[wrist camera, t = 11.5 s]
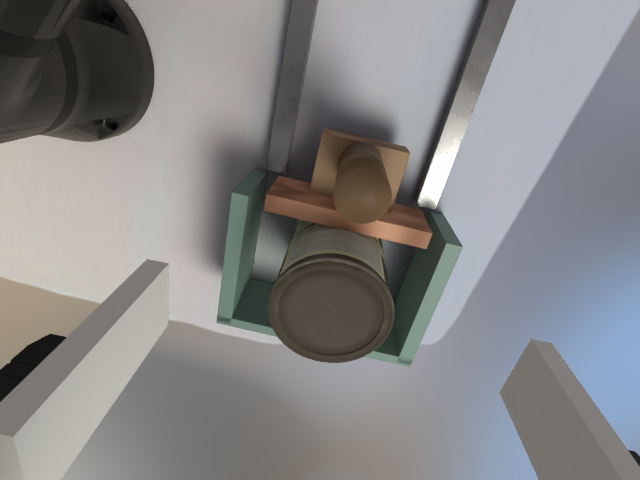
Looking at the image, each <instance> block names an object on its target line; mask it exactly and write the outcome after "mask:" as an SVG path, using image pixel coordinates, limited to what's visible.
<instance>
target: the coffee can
mask: <svg viewBox="0 0 640 480" xmlns="http://www.w3.org/2000/svg"><path fill="white" fill-rule="evenodd" d="M394 315H395V309H394V302H393V298H392V295H391V292H390V288H389V282H388V276H387V270H386V265H385V259H384V253H383V246H382V239H381V238H377V237H373V236H368V235H364V234H360V233H356V232H351V231H347V230H343V229H339V228H334V227H330V226H326V225H322V224H317V223H313V222H309V221H305V220H300V219H298V221H297V223H296V225H295V228H294V231H293V236H292V238H291V241H290V244H289V247H288V249H287V252H286V255H285V258H284V260H283V263H282V266H281V269H280V272H279V275H278V277H277V280H276V281H275V283H274V285H273V287H272V289H271V292H270V295H269V299H268V318H269V321H270V324H271V327H272V329H273V331H274V332H275V334H276V335H277V337H278V338H279V339H280V340H281V341H282V342H283V343H284V344H285V345H286V346H287V347H288V348H289V349H291V350H292V351H294V352H295V353H297V354H299V355H301V356H303V357H306V358H309V359H312V360H315V361H320V362H328V363H341V362H347V361H352V360H356V359H359V358H361V357H364V356H366V355H367V354H370V353H371V352H373V351H374V350H375V349H377V348H378V347H379V346H380V345H381V344H382V343H383V342H384V341H385V339H386V338H387V336H388V335H389V333H390V331H391V329H392V326H393V323H394Z"/></svg>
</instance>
